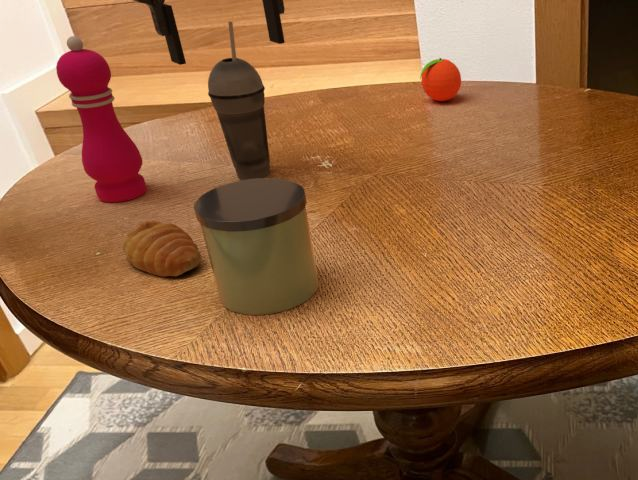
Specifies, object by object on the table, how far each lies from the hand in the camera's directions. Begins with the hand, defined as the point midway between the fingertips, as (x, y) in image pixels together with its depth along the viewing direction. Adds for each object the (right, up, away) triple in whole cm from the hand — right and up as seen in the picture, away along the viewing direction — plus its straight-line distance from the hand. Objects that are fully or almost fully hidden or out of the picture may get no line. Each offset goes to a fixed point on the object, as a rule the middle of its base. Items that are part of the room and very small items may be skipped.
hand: (229, 52), depth 93 cm
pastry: (-3, -28, -12) cm, 31 cm away
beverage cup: (+1, -14, +9) cm, 17 cm away
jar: (+10, -32, -18) cm, 38 cm away
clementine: (+26, +5, +35) cm, 44 cm away
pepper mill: (-16, -17, +6) cm, 24 cm away
